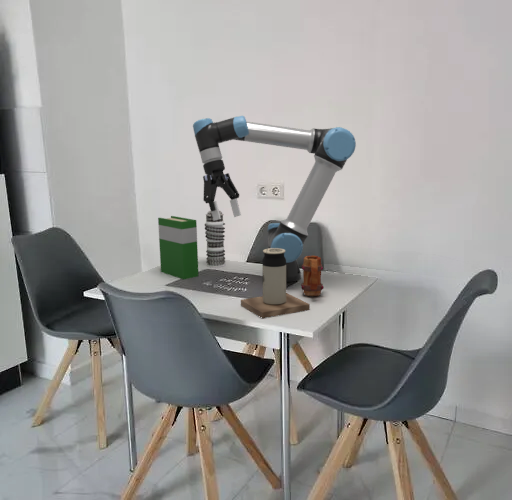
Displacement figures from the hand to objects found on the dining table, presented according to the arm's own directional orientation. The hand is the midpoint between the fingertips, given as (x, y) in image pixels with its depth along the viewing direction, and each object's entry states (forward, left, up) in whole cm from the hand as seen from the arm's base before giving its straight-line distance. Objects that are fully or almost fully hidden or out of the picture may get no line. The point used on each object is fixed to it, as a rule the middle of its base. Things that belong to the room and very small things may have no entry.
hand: (227, 218), depth 198 cm
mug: (-24, +20, -29) cm, 42 cm away
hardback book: (+7, -37, -29) cm, 47 cm away
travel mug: (-6, +24, -27) cm, 36 cm away
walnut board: (-6, +24, -28) cm, 38 cm away
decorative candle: (-13, -44, -29) cm, 54 cm away
